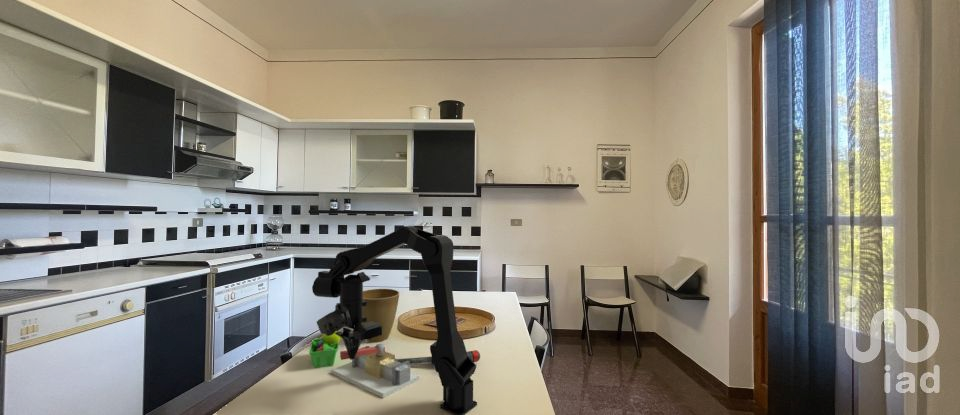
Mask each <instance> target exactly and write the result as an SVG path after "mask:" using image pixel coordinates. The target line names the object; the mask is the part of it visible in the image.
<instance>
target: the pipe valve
mask: <svg viewBox="0 0 960 415" xmlns="http://www.w3.org/2000/svg"><path fill="white" fill-rule="evenodd" d="M368 347H370V346H368V345H367V346H363V347H361V348H360V347H359V349H363V348H368ZM395 359H396V355H395V354H393V353H389V352H387V351H385V352H384V355H382V356H377V355H376V353H374V354H368V355H363V356H357V357H355V358H354V359H352V360H351V362H352V367H353V368H355V367H358V368H360V369H363V370H365V373H367V374H369V375H372V376H374V377H376V378H379V379H380V378H384V379H386V380H388V381H391V382H392V385H397V384H398V385H402V384H404V383H406V382H408V381H410V372H411V364H410V361H408V360H407V361H405V362H403V363H400V362H397V361H395Z"/></svg>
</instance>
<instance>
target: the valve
mask: <svg viewBox="0 0 960 415" xmlns="http://www.w3.org/2000/svg"><path fill="white" fill-rule="evenodd" d="M466 352H467V355H468V356H469V357H470V358H471V360H472V361H473V362H474V363H477V362H479V361H480V359H481V352H479V351H478V350H476V349H475V350H474V349H473V350H468V351H466ZM407 360H408V361H410V365H415V364H416V365H417V364H429V363H430V364H431V361H432V356H420V357H419V356H418V357H408V358H395V361H397V362H400V363H403V362H405V361H407ZM431 366H433V367H434V363H433V364H431Z"/></svg>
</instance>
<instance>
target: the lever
mask: <svg viewBox="0 0 960 415" xmlns="http://www.w3.org/2000/svg"><path fill="white" fill-rule="evenodd" d="M362 348H363V347H362ZM385 349H386V347H385V344H384V343H376V345H374V346H369V347H368V348H363V349H360V348H359V349H358V351H357V353H356V355H355V357H357V356H363V355H368V354H374V353H376V355H377V356H382V355H384V352H386V350H385ZM339 353H340V354H339V358H340V360H341V361H343V360H350V358H349V355H348V352H347V350H343V351H340V352H339Z"/></svg>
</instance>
